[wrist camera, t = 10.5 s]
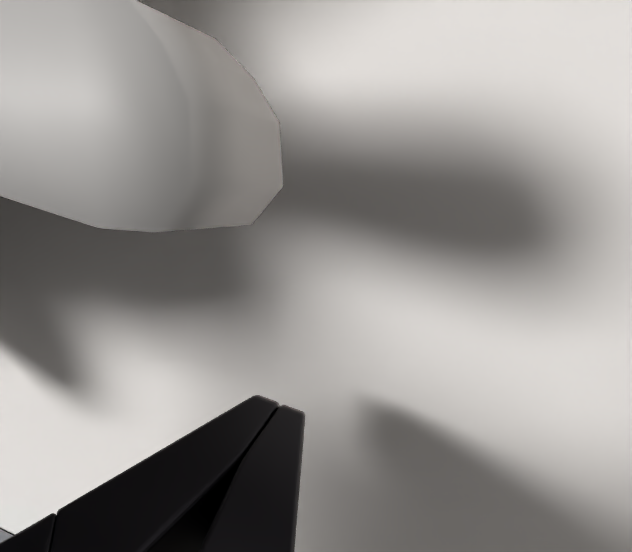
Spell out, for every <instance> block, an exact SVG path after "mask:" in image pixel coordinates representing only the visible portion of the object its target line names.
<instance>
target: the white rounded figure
mask: <svg viewBox="0 0 632 552" xmlns="http://www.w3.org/2000/svg"><path fill="white" fill-rule="evenodd" d="M282 187H283V173H282V155H281V136H280V123H279V121H278V119H277V117H276V116H275V114H274V112H273V110H272V109H271V107H270V105H269V103H268V102H267V100H266V98H265V97H264V95H263V93H262V91H261V90H260V88H259V86H258V84H257V83H256V81H255V79H254V78H253V77H252V76H251V75H250V74H249V73H248V72H247V71H246V70H245V69H244V68H243V67H242V66H241V65H240V63H239V62H238V61H237V60H236V59H235V58H234V57H233V56H232V55H231V54H230V53H229V52H228V51H227V50H226V49H225V48H224V47H223V46H222V45H221V44H220V43H219V41H218V40H217V39H215V38H213V37H211V36H209V35H207V34H205V33H203V32H201V31H199V30H197V29H195V28H193V27H191V26H188V25H186V24H184V23H182V22H180V21H178V20H176V19H174V18H172V17H170V16H168V15H166V14H164V13H162V12H160V11H157V10H155V9H153V8H151V7H149V6H147V5H145V4H143V3H141V2H139V1H137V0H0V196H1V197H4V198H7V199H10V200H13V201H17V202H20V203H23V204H26V205H29V206H32V207H35V208H38V209H41V210H44V211H47V212H50V213H53V214H56V215H59V216H63V217H66V218H69V219H72V220H75V221H78V222H81V223H84V224H87V225H90V226H93V227H96V228H102V229H115V230H127V231H140V232H153V233H155V232H168V231H180V230H193V229H205V228H218V227H230V226H242V225H252V224H253V223H254V221H255V220H256V219H257V218H258V217H259V215H260V214H261V213H262V212H263V211H264V209H265V208H266V207H267V206H268V204H269V203H270V202H271V201H272V200H273V198H274V197H275V196H276V195H277V194H278V192H279V191H280V190H281V189H282Z"/></svg>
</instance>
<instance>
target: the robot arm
mask: <svg viewBox="0 0 632 552" xmlns="http://www.w3.org/2000/svg"><path fill="white" fill-rule="evenodd" d="M304 426H305V414H304V412H302V411H300V410H297V409H294V408H292V407H289V406H286V405H281V406H280V405H279V403H278V402H276V401H273V400H271V399H268V398H265V397H263V396H260V395H255V396H252V397H251V398H249V399H247V400H245V401H244V402H242V403H240V404H239V405H237V406H235V407H233V408H232V409H230V410H228V411H227V412H225V413H223V414H221V415H220V416H218V417H216V418H215V419H213V420H211V421H209V422H208V423H206V424H204V425H203V426H201V427H199V428H198V429H196V430H194V431H192V432H191V433H189V434H187V435H186V436H184V437H182V438H180V439H179V440H177V441H175V442H174V443H172V444H170V445H168V446H167V447H165V448H163V449H162V450H160V451H158V452H156V453H155V454H153V455H151V456H150V457H148V458H146V459H145V460H143V461H141V462H139V463H138V464H136V465H134V466H133V467H131V468H129V469H127V470H126V471H124V472H122V473H121V474H119V475H117V476H115V477H114V478H112V479H110V480H109V481H107V482H105V483H104V484H102V485H100V486H98V487H97V488H95V489H93V490H92V491H90V492H88V493H86V494H85V495H83V496H81V497H80V498H78V499H76V500H74V501H73V502H71V503H69V504H68V505H66V506H64V507H62V508H61V509H59V510H58V512H57V516H56V514H54V513H52V514H50V515H48V516H47V517H45V518H43V519H42V520H40V521H38V522H36V523H35V524H33V525H31V526H30V527H28V528H26V529H24V530H23V531H21V532H19V533H17V534H15V535H13V536H12V537H10V538H8V539H6V540H4V541H3V542H1V543H0V552H294V549H295V536H296V524H297V512H298V500H299V487H300V475H301V463H302V451H303V438H304Z"/></svg>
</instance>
